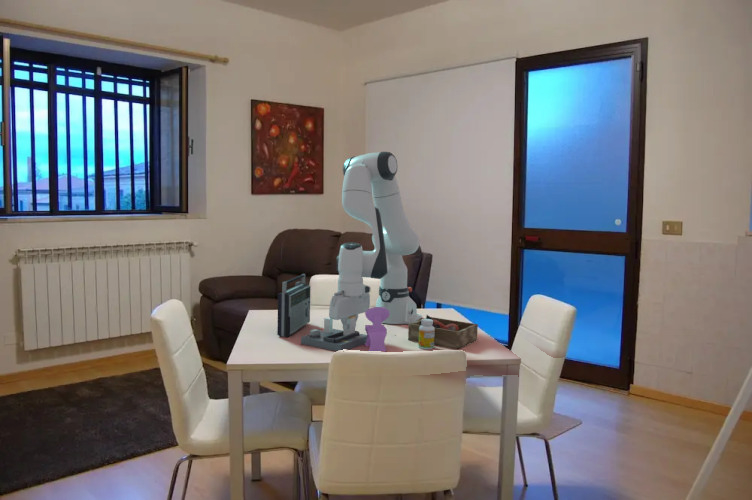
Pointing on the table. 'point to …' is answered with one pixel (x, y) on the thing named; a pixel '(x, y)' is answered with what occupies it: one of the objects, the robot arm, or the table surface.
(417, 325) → the wooden tray
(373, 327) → the toy chair
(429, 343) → the supplement bottle
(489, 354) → the table surface
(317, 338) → the console
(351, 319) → the white cylinder
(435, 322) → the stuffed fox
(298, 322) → the radio
